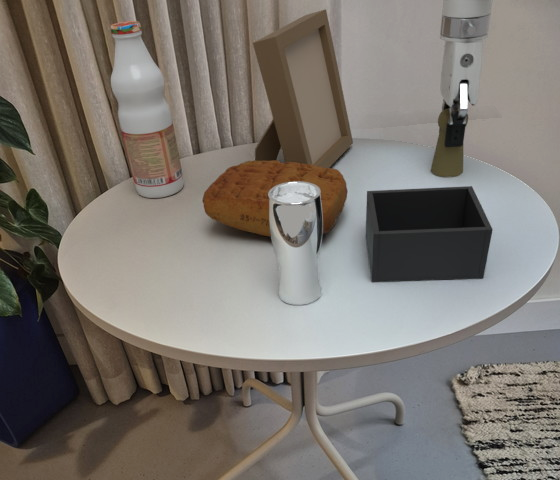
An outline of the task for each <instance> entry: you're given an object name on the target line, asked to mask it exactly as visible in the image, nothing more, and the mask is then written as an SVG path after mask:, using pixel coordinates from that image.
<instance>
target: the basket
mask: <svg viewBox="0 0 560 480" xmlns="http://www.w3.org/2000/svg"><path fill="white" fill-rule="evenodd" d="M365 208H366V209H365V242H366V249H367V257H368V265H369V272H370V280H371V283H389V282H411V281H412V282H416V281H417V282H419V281H444V280H447V281H451V280H477V279H479V280H480V279H484V277H485V272H486V267H487V261H488V257H489V251H490V246H491V241H492V236H493V231H494V230H493V227H492V225H491V222H490V220H489V218H488V217H487V215H486V213H485V210H484V209H483V206H482V204H481V201H480V200H479V198H478V196H477V193H476V192H475V189H474V187H473V186H472V185H469V186H446V187H425V188H423V187H422V188H404V189H403V188H401V189H381V190H379V189H378V190H367V191H366V207H365Z"/></svg>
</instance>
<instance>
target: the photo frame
mask: <svg viewBox="0 0 560 480" xmlns="http://www.w3.org/2000/svg"><path fill="white" fill-rule="evenodd" d="M328 17H329V16H328V12H327V8H325V9H322V10H318V11H314V12H311V13H308V14H305V15H303V16H301V17H298V18H297V19H295V20H293V21H291V22H290V23H288V24H285V25H284V26H282V27H280V28H278V29H276V30H274V31H273V32H270V33H269V34H266V35H264V36H263V37H261V38H259V39H257V40H256V41H253V42H252V46H253V49H254V53H255V56H256V60H257V64H258V67H259V71H260V76H261V79H262V83H263V85H264V89H265V93H266V97H267V101H268V105H269V109H270V111H271V115H272V120H271V121H270V123H269V125H268V126H267V128H266V129H265V131H264V133H263V135H262V137H261V138H260V139H259V141H258V143H257V144H256V146H255V148H254V161H272V160H277V159H278V157H279V154H280V151H281V152H282V155H283V159H284V163H286V162H296V163H300V164H306V165H308V164H312V165H315V166H318V167H324V168H331V167H332V166H333V165H334V164H335V163H336V161H338V159H339V158H340V157H341V156H342V155H343V154H344V153H346V151H347V150H348V149H349V148H350V147H351V146H352V145H353V144H354V140H353V135H352V130H351V126H350V121H349V116H348V110H347V105H346V99H345V96H344V91H343V86H342V81H341V77H340V72H339V67H338V62H337V57H336V51H335V46H334V42H333V37H332V32H331V28H330V21H329V18H328ZM277 161H278V160H277Z"/></svg>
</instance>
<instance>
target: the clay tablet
mask: <svg viewBox="0 0 560 480" xmlns="http://www.w3.org/2000/svg"><path fill="white" fill-rule="evenodd" d="M293 181H303V182H309V183H313V184H315V185H317V186H318V187H319V188H320V190H321V203H322V212H323V235H324V234H327V233H329V232H331V230H332V229H333V228H334V227H335V225H336V222H337V220H338V218H339V216H340V215H341V213H342V212H343V210H344V207H345V203H346V201H347V197H348V187H347V182H346V180H345V178H344V175H343V174H342V173H341V171H340V170H339V169H336V168H332V167H329V168H324V167H318V166H315V165H312V164H308V165H306V164H300V163H296V162H286V163H285V162H280V160H272V161H255V160H247V161H243V162H242V163H241V162H240V163H239V164H236V165H233V166H230V167H228V168H226V170H225V171H224V172H222V173H221V174H220V175H219V176H218V177H217V178H216V179H215V180H214V181H213V182H212V183H211V184H210V185H209V187H208V188H207V189H206V190H205V191H204V193H203V197H202V203H203V209H204V213H205V214H206V215H207V216H208V217H209V218H210V219H211V220H214V221H216V222H219V223H220V224H223V225H225V226H227V227H231V228H234V229H236V230H240V231H244V232H248V233H252V234H256V235H260V236H265V237H270V238H271V235H270V228H269V209H268V206H269V198H268V193H269V191H270V189H272V188H273V187H275V186H276V185H279V184H282V183H286V182H293Z"/></svg>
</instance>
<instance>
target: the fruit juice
mask: <svg viewBox="0 0 560 480" xmlns="http://www.w3.org/2000/svg"><path fill="white" fill-rule="evenodd" d="M110 34H111V35H112V38H113V39H114V43H115V44H114V59H113V69H112V72H111V76H110V87H111V90H112V93H113V96H114V97H115V99H116V101H117V104H118V109H117V117H118V122H119V128H120V131H121V136H122V139H123V143H124V147H125V152H126V155H127V159H128V164H129V167H130V172H131V175H132V179H133V183H134V188H135V190H136V193H137V194H138V195H139V196H140V197H144V198H148V199H159V198H166V197H170V196H172V195H175V194H176V193H179V192H180V191H182V189H183V188H184V185H185V182H184V175H183V169H182V164H181V159H180V154H179V153H180V152H179V147H178V142H177V137H176V132H175V127H174V120H173V116H172V111H171V107H170V105H169V103H168V102H167V100H166V97H165V88H166V87H165V86H166V83H165V78H164V75H163V72H162V70H161V69H160V67H158V65H157V64H156V62H155V61H154V59H153V58H152V56H151V54H150V52H149V50H148V48H147V46H146V44H145V42H144V41H143V38H142V34H143V32H142V26H141V22H140V21H137V20H128V21H127V20H126V21H119V22H116V23H113V24H111V25H110Z"/></svg>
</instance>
